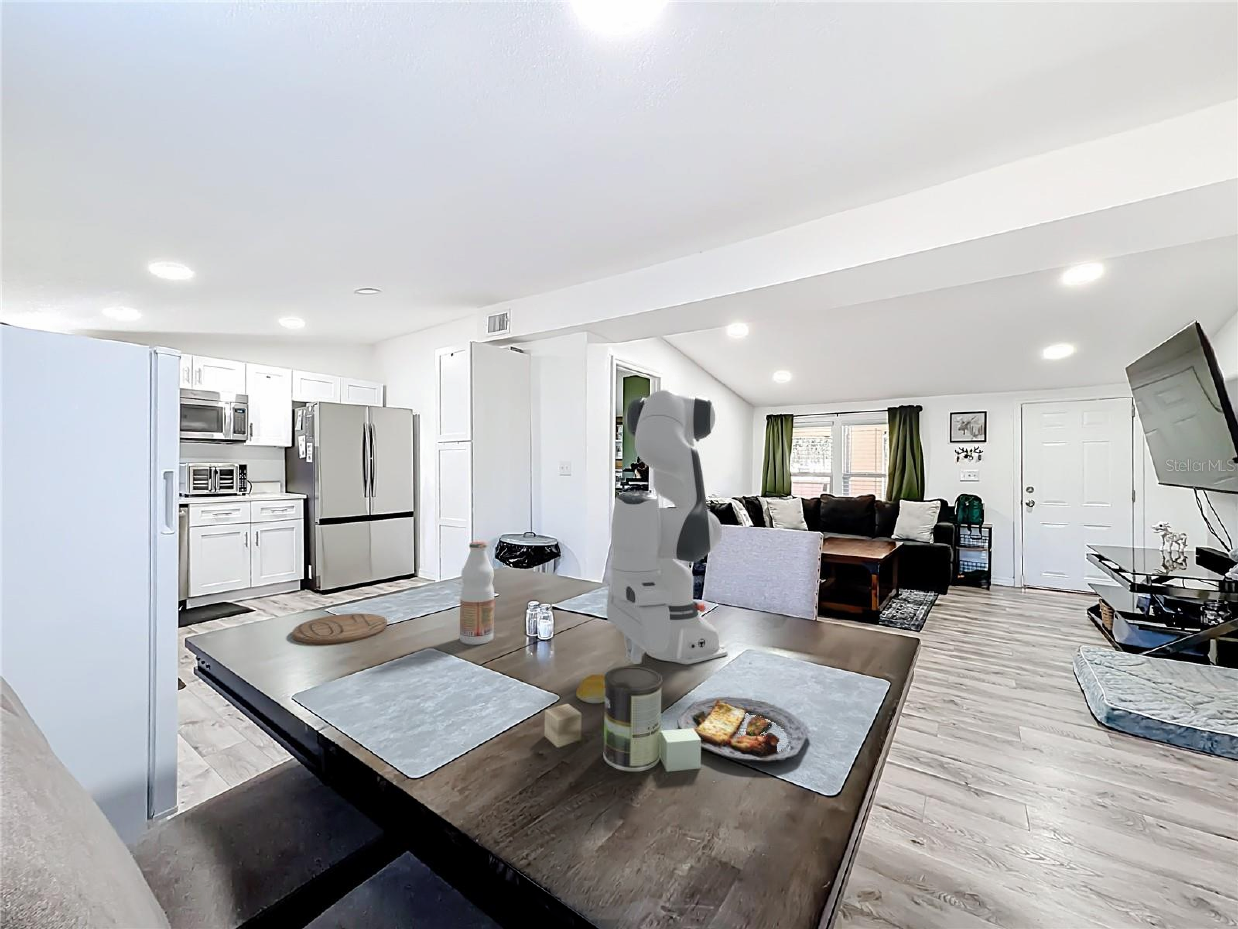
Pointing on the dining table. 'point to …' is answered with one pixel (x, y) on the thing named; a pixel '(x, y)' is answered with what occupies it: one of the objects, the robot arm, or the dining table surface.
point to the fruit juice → (477, 597)
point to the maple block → (562, 725)
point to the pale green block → (680, 749)
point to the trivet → (339, 629)
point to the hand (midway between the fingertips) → (633, 661)
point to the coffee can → (632, 718)
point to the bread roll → (592, 689)
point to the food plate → (724, 720)
